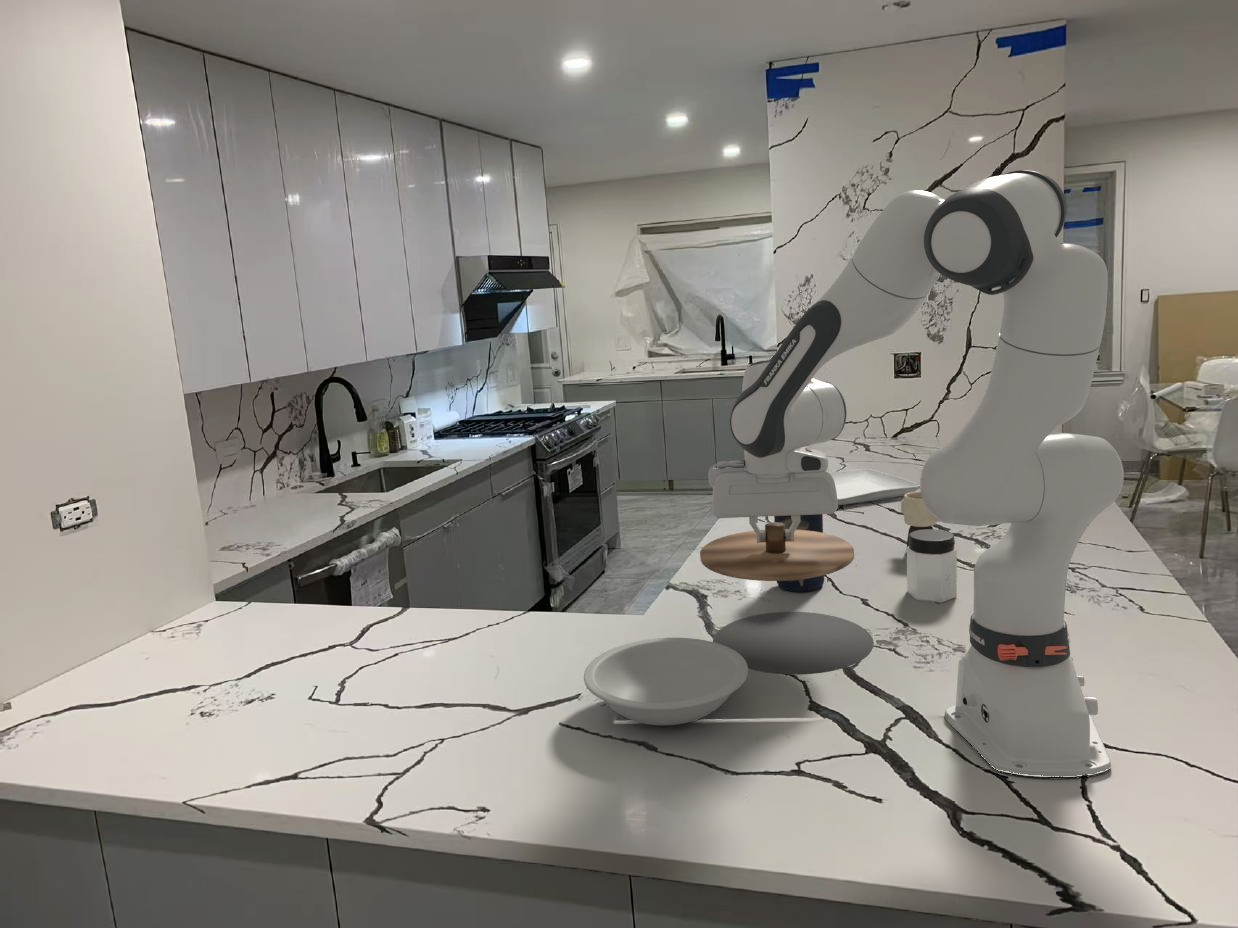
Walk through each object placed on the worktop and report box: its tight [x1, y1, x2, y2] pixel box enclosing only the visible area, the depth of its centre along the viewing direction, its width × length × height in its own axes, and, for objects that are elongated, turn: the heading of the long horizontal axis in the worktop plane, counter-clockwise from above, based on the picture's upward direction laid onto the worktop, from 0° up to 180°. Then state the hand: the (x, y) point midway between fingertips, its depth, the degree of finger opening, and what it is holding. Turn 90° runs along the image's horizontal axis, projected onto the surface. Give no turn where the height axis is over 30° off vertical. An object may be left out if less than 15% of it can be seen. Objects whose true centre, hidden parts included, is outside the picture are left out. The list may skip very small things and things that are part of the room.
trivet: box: [712, 611, 874, 675], centre depth 152 cm, size 27×27×1 cm
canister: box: [773, 514, 825, 593], centre depth 177 cm, size 10×10×18 cm
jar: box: [906, 528, 958, 604], centre depth 168 cm, size 9×8×12 cm
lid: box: [699, 522, 855, 582], centre depth 146 cm, size 25×25×5 cm
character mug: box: [900, 491, 941, 551], centre depth 194 cm, size 11×7×13 cm, turn 30°
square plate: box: [830, 468, 920, 506], centre depth 252 cm, size 27×27×4 cm
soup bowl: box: [583, 637, 749, 726], centre depth 130 cm, size 24×24×7 cm
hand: (775, 541), depth 146 cm, fingers closed on lid, 3 cm apart
